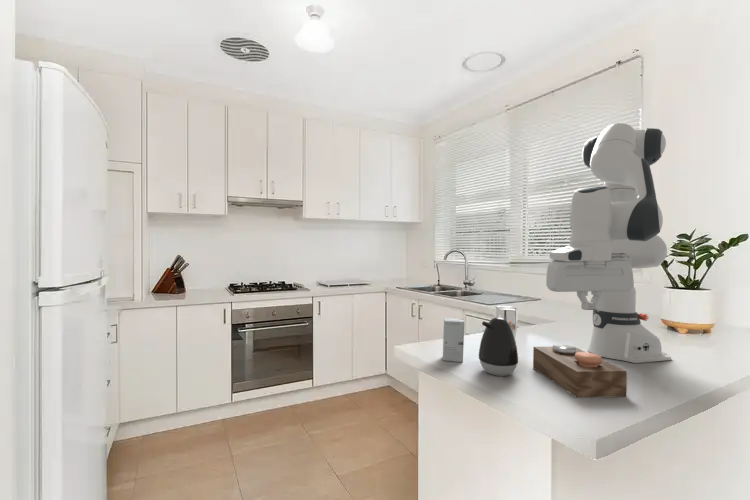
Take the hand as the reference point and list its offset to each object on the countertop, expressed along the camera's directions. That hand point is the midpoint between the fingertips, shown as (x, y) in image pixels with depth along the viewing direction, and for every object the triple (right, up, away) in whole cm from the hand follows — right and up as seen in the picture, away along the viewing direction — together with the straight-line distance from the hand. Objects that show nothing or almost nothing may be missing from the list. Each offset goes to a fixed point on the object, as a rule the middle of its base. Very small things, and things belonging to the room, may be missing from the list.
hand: (589, 309), depth 88 cm
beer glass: (-11, -19, +27) cm, 34 cm away
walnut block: (-1, -19, +5) cm, 20 cm away
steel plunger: (-1, -17, +10) cm, 20 cm away
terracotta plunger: (0, -16, 0) cm, 16 cm away
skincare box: (-29, -19, +21) cm, 41 cm away
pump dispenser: (-19, -19, +10) cm, 29 cm away
